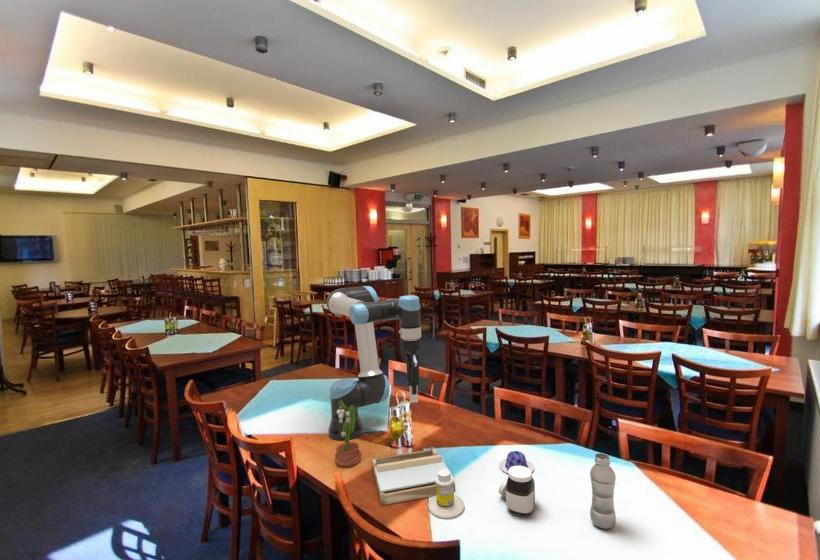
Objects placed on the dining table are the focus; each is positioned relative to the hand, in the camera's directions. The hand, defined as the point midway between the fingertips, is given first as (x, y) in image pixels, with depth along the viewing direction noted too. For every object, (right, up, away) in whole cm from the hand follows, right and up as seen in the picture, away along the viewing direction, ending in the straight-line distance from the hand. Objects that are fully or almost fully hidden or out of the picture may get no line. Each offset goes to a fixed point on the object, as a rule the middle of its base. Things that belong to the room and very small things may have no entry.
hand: (414, 401), depth 147 cm
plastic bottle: (+53, -25, -34) cm, 68 cm away
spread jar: (+31, -25, -23) cm, 46 cm away
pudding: (+37, -23, -3) cm, 44 cm away
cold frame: (-1, -25, -5) cm, 26 cm away
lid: (0, -22, -11) cm, 24 cm away
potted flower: (-25, -26, +6) cm, 36 cm away
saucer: (+10, -26, -23) cm, 36 cm away
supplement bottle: (+10, -25, -23) cm, 35 cm away
